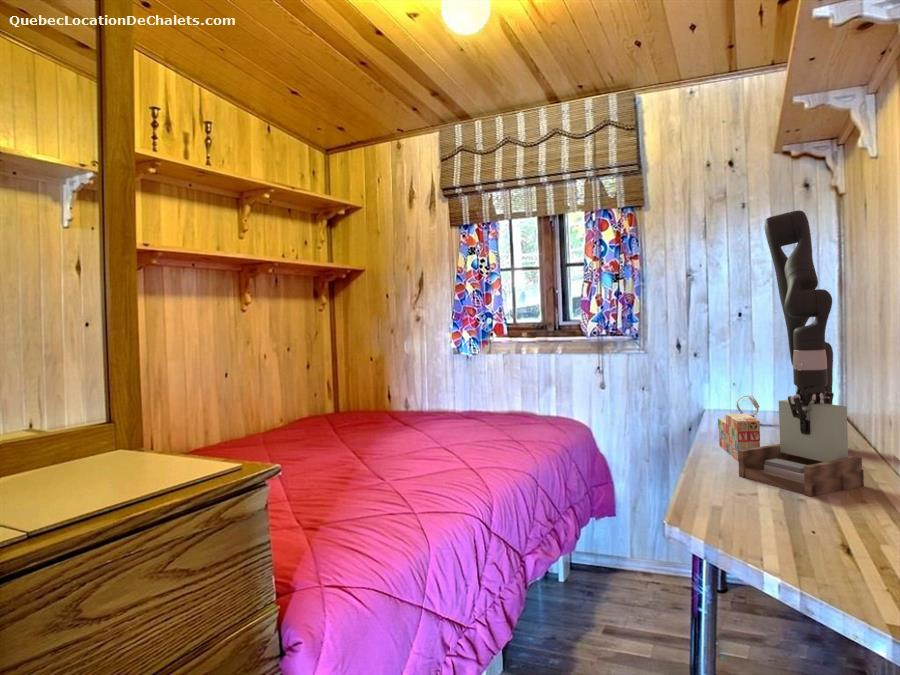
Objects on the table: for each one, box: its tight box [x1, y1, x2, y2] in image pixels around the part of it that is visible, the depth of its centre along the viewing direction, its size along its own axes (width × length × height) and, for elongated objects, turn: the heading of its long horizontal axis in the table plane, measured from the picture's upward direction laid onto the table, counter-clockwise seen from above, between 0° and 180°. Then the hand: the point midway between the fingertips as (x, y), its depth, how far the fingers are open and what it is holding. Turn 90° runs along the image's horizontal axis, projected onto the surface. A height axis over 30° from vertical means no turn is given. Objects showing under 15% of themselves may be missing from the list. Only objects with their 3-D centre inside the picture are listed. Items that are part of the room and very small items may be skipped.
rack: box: [738, 443, 865, 497], centre depth 153 cm, size 18×21×7 cm
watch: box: [735, 394, 760, 418], centre depth 229 cm, size 6×8×11 cm
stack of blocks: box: [717, 413, 761, 463], centre depth 184 cm, size 21×6×12 cm, turn 170°
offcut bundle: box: [762, 459, 806, 482], centre depth 152 cm, size 5×15×5 cm, turn 20°
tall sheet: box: [778, 399, 849, 462], centre depth 154 cm, size 4×16×14 cm, turn 20°
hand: (812, 432), depth 154 cm, fingers closed on tall sheet, 4 cm apart
